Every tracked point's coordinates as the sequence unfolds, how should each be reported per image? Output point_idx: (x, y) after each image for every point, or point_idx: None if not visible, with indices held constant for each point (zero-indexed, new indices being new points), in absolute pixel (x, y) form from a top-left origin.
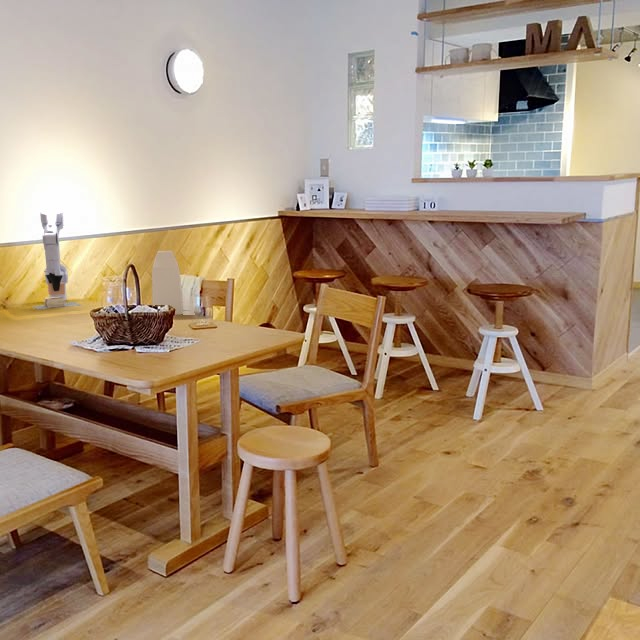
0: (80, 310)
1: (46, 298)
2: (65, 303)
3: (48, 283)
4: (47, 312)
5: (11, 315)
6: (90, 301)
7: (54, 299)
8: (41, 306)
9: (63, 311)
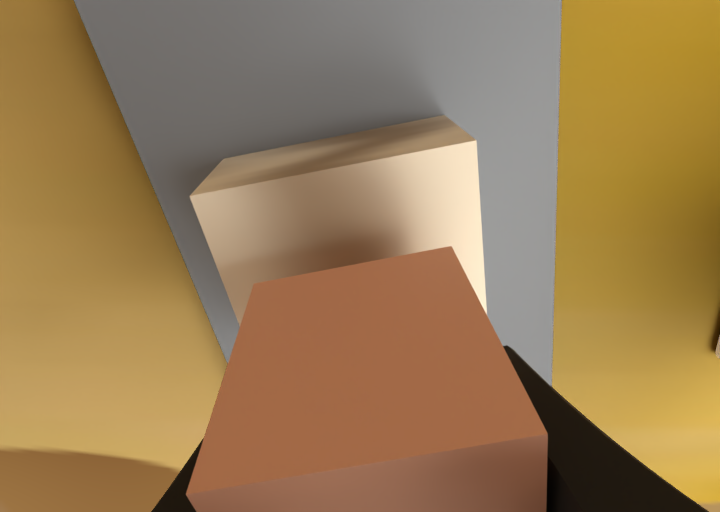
0: (145, 421)
1: (414, 176)
2: (511, 343)
3: (482, 450)
4: (109, 127)
5: None
6: (690, 486)
7: (226, 290)
8: (419, 59)
9: (132, 294)
